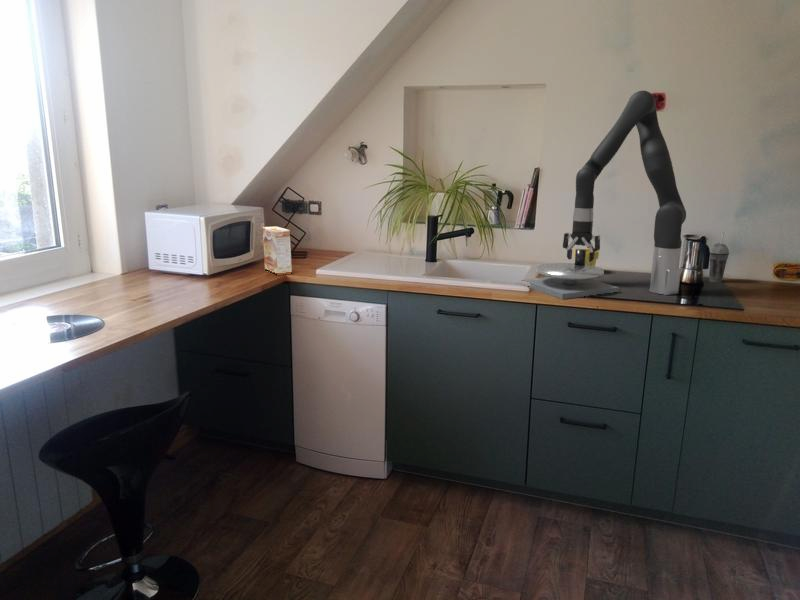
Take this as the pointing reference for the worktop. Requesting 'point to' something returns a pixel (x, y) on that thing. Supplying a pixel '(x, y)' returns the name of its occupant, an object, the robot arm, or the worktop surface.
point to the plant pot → (588, 257)
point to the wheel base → (570, 287)
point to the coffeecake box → (277, 249)
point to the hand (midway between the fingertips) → (580, 260)
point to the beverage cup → (718, 261)
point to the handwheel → (571, 269)
